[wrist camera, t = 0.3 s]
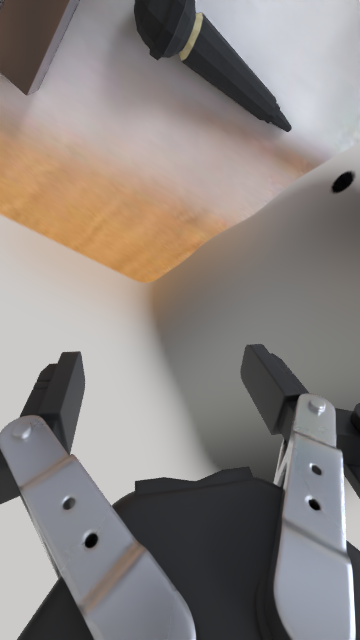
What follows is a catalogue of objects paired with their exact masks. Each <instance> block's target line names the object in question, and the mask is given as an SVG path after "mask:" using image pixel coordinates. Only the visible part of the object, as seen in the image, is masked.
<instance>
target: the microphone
mask: <svg viewBox="0 0 360 640" xmlns="http://www.w3.org/2000/svg"><path fill="white" fill-rule="evenodd" d="M134 14H135V20H136V26H137V31H138V33H139V35H140V36H141V38H142V40H143V41H144V42H145V44H146V45H147V46H148V47H149V49H150V55H151V56H152V57H154V58H155V59H157V60H158V59H159V58H161V57H171V56H173V55H175V54H178V53H179V54H180V58H181V61H182V62H183V63H184V64H186V65H187V66H188V67H190V68H191V69H192V70H194V71H195V72H197V73H198V74H199V75H201V76H202V77H203V78H205V79H206V80H207V81H209V82H210V83H211V84H213V85H214V86H215V87H217V88H218V89H219V90H221V91H222V92H223V93H225V94H226V95H227V96H229V97H230V98H231V99H233V100H234V101H236V102H237V103H238V104H240V105H241V106H242V107H244V108H245V109H246V110H248V111H249V112H250V113H252V114H253V115H254V116H256V117H257V118H258V119H260V120H265V121H266V122H267V123H269V122H272V123H273V124H274V125H276V126H278V127H279V128H281V129H283V130H285V131H286V132H289V131H290V130H291V125H290V124H289V122H288V121H287V119H286V118H285V116H284V115H283V113H282V112H281V111H280V107H279V105H278V104H277V103H276V99H275V97H274V96H273V95H272V94H271V92H270V91H269V90H268V89H267V88H266V87H265V85H264V84H263V83H262V82H261V81H260V80H259V78H258V77H257V76H256V75H255V74H254V73H253V71H252V70H251V69H250V68H249V67H248V66H247V64H246V63H245V62H244V61H243V60H242V59H241V57H240V56H239V55H238V54H237V53H236V52H235V50H234V49H233V48H232V47H231V46H230V45H229V43H228V42H227V41H226V40H225V39H224V38H223V36H222V35H221V34H220V33H219V32H218V31H217V29H216V28H215V27H214V26H213V25H212V24H211V23H210V21H209V20H208V19H207V18H206V17H205V16H204V14H203V13H197V14H196V12H195V0H135V5H134Z"/></svg>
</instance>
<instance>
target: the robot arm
mask: <svg viewBox="0 0 360 640" xmlns="http://www.w3.org/2000/svg"><path fill="white" fill-rule="evenodd" d="M241 378H242V381H243V383H244V385H245V387H246V388H247V390H248V392H249V394H250V396H251V398H252V400H253V402H254V403H255V405H256V407H257V409H258V411H259V413H260V414H261V416H262V418H263V420H264V422H265V423H266V425H267V427H268V429H269V431H270V433H271V434H272V435H275V434H282V435H283V437H284V439H283V442H282V446H281V450H280V456H279V461H278V465H277V470H276V475H275V479H274V483H272V482H270V481H267V480H265V479H262V478H259V477H254V476H253V475H252V473H251V470H250V468H249V467H242V468H234V469H226V470H222V471H219V472H217V473H214V474H212V475H210V476H208V477H205V478H203V479H201V480H198V481H188V480H181V479H173V478H166V477H163V478H156V479H148V480H140V481H135V491H134V492H132V493H129V494H128V495H126V496H124V497H122V498H121V499H119V500H118V501H117V502H116V503H114V504H113V505H112V506H111V505H110V503H109V502H108V500H107V499H106V498H105V496H104V495H103V493H102V492H101V491H100V490H99V488H98V487H97V485H96V484H95V482H94V481H93V480H92V478H91V477H90V476H89V474H88V473H87V471H86V470H85V469H84V467H83V466H82V464H81V463H80V462H79V460H78V459H77V458H76V457H75V456H74V455H73V454H71V455H70V452H71V447H72V443H73V439H74V434H75V430H76V425H77V421H78V416H79V412H80V407H81V403H82V399H83V395H84V390H85V376H84V369H83V363H82V356H81V352H63V353H62V354H61V356H60V359H59V361H58V364H49V365H48V366H47V367H46V368H45V369H44V370H43V371H41V373H40V375H39V377H38V379H37V382H36V383H35V385H34V388H33V390H32V392H31V394H30V396H29V398H28V400H27V402H26V404H25V406H24V409H23V411H22V413H21V415H20V417H19V418H18V419H16V420H14V421H12V422H10V423H9V424H8V425H7V426H6V427H4V429H3V430H2V431H1V433H0V504H2V503H4V502H7V501H9V500H11V499H14V498H16V497H18V496H20V497H21V499H22V501H23V504H24V506H25V508H26V510H27V512H28V514H29V516H30V518H31V521H32V522H33V525H34V527H35V529H36V531H37V533H38V535H39V538H40V540H41V542H42V544H43V547H44V549H45V551H46V553H47V556H48V558H49V560H50V562H51V564H52V566H53V569H54V570H55V573H56V575H57V577H58V581H57V582H56V584H55V585H54V586H53V588H52V589H51V591H50V592H49V594H48V595H47V597H46V598H45V599H44V601H43V602H42V604H41V605H40V607H39V608H38V610H37V611H36V613H35V614H34V615H33V617H32V619H31V620H30V621H29V623H28V624H27V626H26V627H25V628H24V630H23V631H22V633H21V634H20V636H19V637H18V639H17V640H360V551H359V550H358V549H356V548H355V547H354V546H353V545H352V544H350V543H349V542H348V541H347V540H346V531H345V530H346V529H345V503H344V476H343V474H344V475H345V477H346V478H347V480H348V481H349V483H350V484H351V486H352V487H353V489H354V491H355V492H356V494H357V495H358V497H359V498H360V403H359V404H357V405H356V407H355V408H354V411H348V410H342V409H337V408H334V407H333V405H332V404H331V403H330V402H329V401H327V400H326V399H324V398H323V397H321V396H318V395H316V394H311V393H309V392H308V391H307V390H306V388H305V387H304V386H303V385H302V383H301V382H300V381H299V380H298V379H297V377H296V376H295V375H294V374H292V371H291V370H290V369H289V368H287V365H286V364H285V363H284V362H283V361H282V359H280V358H279V357H277V356H276V355H274V354H270V353H269V352H268V350H267V349H266V348H265V347H264V345H262V344H255V345H247V346H246V347H245V351H244V356H243V361H242V366H241Z"/></svg>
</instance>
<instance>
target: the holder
mask: <svg viewBox="0 0 360 640" xmlns="http://www.w3.org/2000/svg"><path fill="white" fill-rule="evenodd" d="M79 1H80V0H4V2H3V4H2V3H1V2H0V73H1V74H3V75H4V76H5V77H6V78H7V79H8V80H9V81H11V82H12V83H13V84H14V85H15V86H16V87H17V88H19V89H20V90H21V91H22V92H23V93H24V94H25V95H29V94H31V93H33V92H35V91H37V90H38V89H39V87H40V85H41V83H42V80H43V78H44V76H45V74H46V72H47V70H48V67H49V65H50V63H51V61H52V59H53V57H54V54H55V52H56V50H57V48H58V46H59V44H60V42H61V39H62V37H63V35H64V33H65V31H66V29H67V26H68V24H69V22H70V20H71V18H72V16H73V13H74V11H75V9H76V7H77V5H78V3H79Z"/></svg>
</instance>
